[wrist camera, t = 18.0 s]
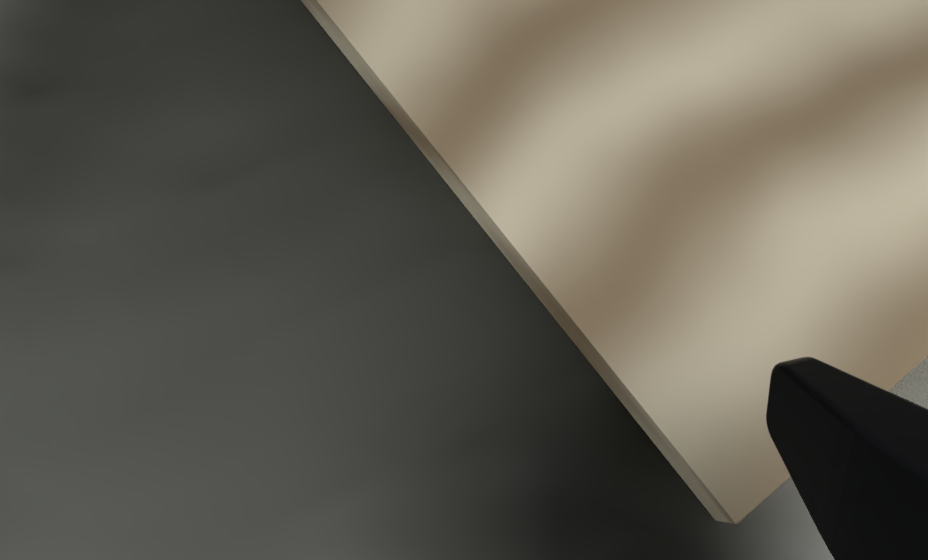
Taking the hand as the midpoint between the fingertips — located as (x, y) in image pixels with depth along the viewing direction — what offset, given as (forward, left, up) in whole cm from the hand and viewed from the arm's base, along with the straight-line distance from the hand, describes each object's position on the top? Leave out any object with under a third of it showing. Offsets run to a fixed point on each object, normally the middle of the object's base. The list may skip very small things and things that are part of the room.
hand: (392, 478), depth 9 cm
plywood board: (+7, -14, -14) cm, 21 cm away
